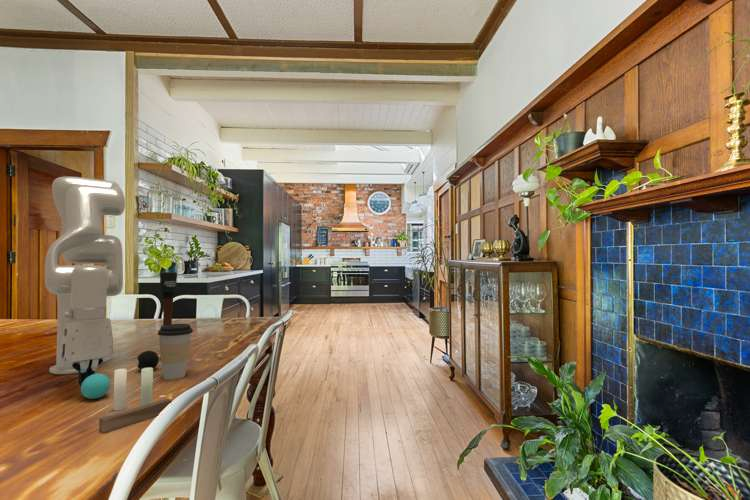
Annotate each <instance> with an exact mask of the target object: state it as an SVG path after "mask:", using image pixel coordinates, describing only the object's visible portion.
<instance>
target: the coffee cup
mask: <svg viewBox="0 0 750 500" xmlns="http://www.w3.org/2000/svg"><path fill="white" fill-rule="evenodd" d="M157 332H158V333H157V335H159V353H160V356H159V357H160V362H161V370H162V379H163V380H169V381H171V380H172V381H173V380H179V379H182V378H184V377H185V376H186V372H187V363H188V361H189V355H190V347H191V335H192V333H194V330H193V328H192V327H191V325H190V324H189V323H172V324H169V325H164V326H163V325H162V326H160V329H159V330H158V331H157Z"/></svg>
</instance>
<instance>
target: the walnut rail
mask: <svg viewBox="0 0 750 500" xmlns="http://www.w3.org/2000/svg"><path fill="white" fill-rule="evenodd" d="M172 401H173V400H172V399H170V398H167V397H166V398H163V399H160V400H156V401H152V403H149V404H146V405H143V406H140V405H139V406H136V407H134V408H129V409H126V410H122V411H120V412H119V411H118V412H117V413H114V414H110V415H107V416H106V415H105V416H104V417H100V418H99V419H98V420H99V421H98V423H99V424H98V425H99V427H98V431H99V432H101V433H103V434H105V433H108V432H109V433H110V432H113V431H115V430H117V429H118V430H119V429H121V428H124V427H127V426H130V425H133V424H136V423H140V422H142V421H145V420H148V419H152V418H154V417H157V415H158V414H159V413H160V412H161V411H162V410H163V409H164V408H165V407H166V406H167V405H168V404H169V403H171V402H172ZM158 416H159V415H158Z"/></svg>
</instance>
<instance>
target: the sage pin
mask: <svg viewBox="0 0 750 500" xmlns="http://www.w3.org/2000/svg"><path fill="white" fill-rule="evenodd" d="M140 371H141V373H140V376H141V377H140V405H139V406H143V405H146V404H149V403H153V385H154V369H153V368H151V367H149V368H143V369H141V370H140Z"/></svg>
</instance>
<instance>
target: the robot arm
mask: <svg viewBox="0 0 750 500" xmlns="http://www.w3.org/2000/svg"><path fill="white" fill-rule="evenodd" d="M51 192H52V198H53V203H54V205H55V207H56V210H57V212H58V214H59V217H60V219H61V220H60V221H61V236H59V237H58V238H57V239H56V240H54V242H53V243H52V244H51V245H50V247H49V248H48V249H47V253H46V255H45V259H44V260H45V261H44V284H45V285H44V286H45V288H46V290H47V291H48V292H49V293H51V294H55V295H56V301H57V328H56V329H57V330H56V331H57V332H56V357H55V358H56V359H55V360H56V363H55V365H52V366H50V367H49V370H48V371H49V373H50V374H53V375H72V374H78V383H77V384H78V385H79V387H81V385H82V383H83V381H84V380H85V379H86V378H87V377H88V376H90V375H93V374H96V373H95V372H96V371H97V370H98V368H99V367H101V364H102V363H103V362H106V361H109V360H111V359H112V354H113V353H114V339H113V338H114V337H113V330H112V329H113V328H112V324H111V320H110V317H109V318H108V317H107V297H116V296H118V295H120V293H122V291H123V289H124V288H123V287H124V266H123V264H124V263H123V262H124V261H123V260H124V259H123V257H124V256H123V246H122V241H121V240H120V238H119V237H117V236H115V235H111V234H104V230H103V229H104V228H103V216H113V217H114V216H115V217H119V216H122V215H123V213H124V211H125V209H126V199H125V194H124V192H123V190H122V188H121V187H120V184H118V183H117V182H115V181H113V180H112V181H111V180H106V179H105V180H103V179H96V178H87V177H81V176H59V177H57V178H55V179H54V180H53V181H52V185H51ZM60 257H62V258H63V260H64V262H66V263H70V265H67V264H66V265H65V264H64V265H63V264H61V265H60V264H59V259H60ZM71 264H73V265H71ZM74 264H75V265H74ZM76 264H77V265H76ZM78 264H80V265H78ZM84 264H85V265H84ZM88 264H90V265H88ZM96 264H97V265H96ZM99 264H100V265H99Z"/></svg>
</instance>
